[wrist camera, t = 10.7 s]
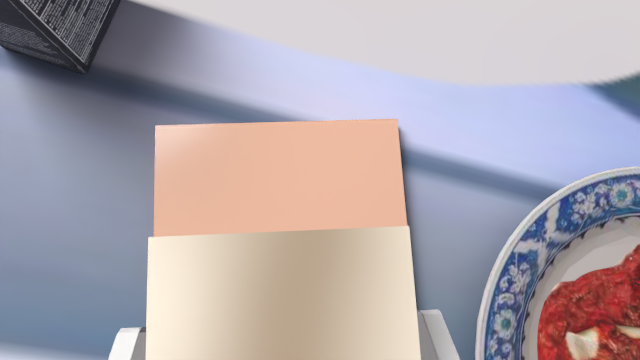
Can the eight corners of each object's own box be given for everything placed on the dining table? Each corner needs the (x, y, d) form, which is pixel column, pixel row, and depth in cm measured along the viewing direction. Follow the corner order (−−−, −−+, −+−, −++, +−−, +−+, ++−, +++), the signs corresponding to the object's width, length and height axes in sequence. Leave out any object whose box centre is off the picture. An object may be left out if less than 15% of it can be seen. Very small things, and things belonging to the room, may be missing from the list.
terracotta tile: (156, 385, 27) (151, 389, 26) (159, 130, 30) (155, 125, 29) (415, 364, 28) (420, 368, 27) (393, 123, 31) (397, 118, 30)
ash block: (213, 400, 15) (141, 540, 7) (212, 252, 16) (147, 237, 8) (358, 389, 16) (434, 509, 8) (349, 246, 17) (409, 226, 9)
